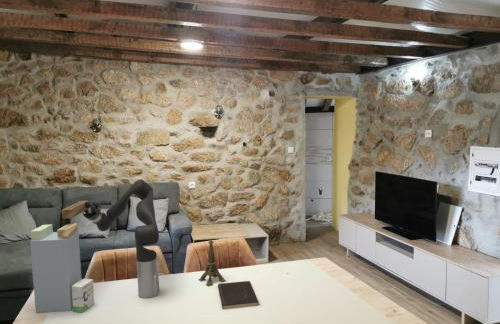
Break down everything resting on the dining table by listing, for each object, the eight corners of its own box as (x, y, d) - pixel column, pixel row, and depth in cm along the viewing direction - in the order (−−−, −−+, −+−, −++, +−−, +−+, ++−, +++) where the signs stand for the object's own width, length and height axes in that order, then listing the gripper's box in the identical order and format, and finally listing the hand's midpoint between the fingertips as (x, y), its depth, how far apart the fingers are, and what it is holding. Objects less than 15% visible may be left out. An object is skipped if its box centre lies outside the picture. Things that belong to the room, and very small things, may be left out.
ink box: (85, 302, 168) (83, 277, 167) (95, 303, 167) (93, 278, 166) (72, 312, 160) (70, 285, 159) (82, 313, 159) (81, 286, 158)
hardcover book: (249, 285, 184) (249, 280, 184) (258, 306, 162) (258, 301, 162) (217, 288, 182) (217, 283, 182) (222, 310, 159) (222, 305, 159)
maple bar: (77, 231, 170) (76, 223, 169) (67, 238, 159) (66, 229, 159) (68, 232, 170) (68, 223, 169) (57, 239, 159) (57, 230, 158)
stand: (82, 297, 174) (78, 231, 171) (71, 311, 161) (66, 239, 158) (50, 299, 173) (45, 232, 170) (35, 312, 160) (30, 241, 157)
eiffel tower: (215, 275, 197) (214, 229, 195) (226, 281, 189) (224, 233, 186) (198, 280, 191) (196, 233, 189) (208, 286, 183) (206, 237, 180)
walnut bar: (89, 208, 189) (88, 200, 189) (71, 218, 167) (70, 209, 167) (81, 208, 189) (80, 200, 188) (62, 218, 167) (61, 210, 166)
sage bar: (52, 232, 169) (52, 224, 169) (41, 240, 158) (40, 230, 158) (44, 233, 169) (43, 224, 169) (31, 240, 158) (30, 231, 158)
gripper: (80, 207, 200) (67, 197, 185) (106, 206, 201) (96, 196, 186) (78, 221, 197) (65, 211, 182) (105, 219, 198) (94, 210, 182)
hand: (81, 203), depth 184 cm, fingers closed on walnut bar, 4 cm apart
